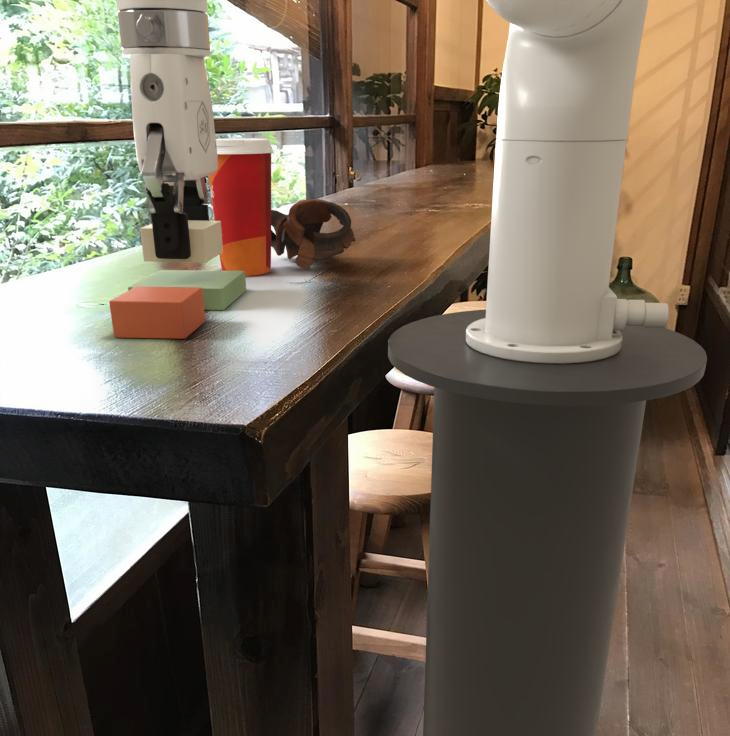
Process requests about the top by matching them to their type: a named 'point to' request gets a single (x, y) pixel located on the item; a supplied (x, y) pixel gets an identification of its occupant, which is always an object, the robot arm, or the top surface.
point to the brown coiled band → (310, 231)
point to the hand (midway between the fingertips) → (184, 250)
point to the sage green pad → (201, 284)
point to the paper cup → (243, 203)
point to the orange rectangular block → (157, 312)
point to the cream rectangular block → (202, 242)
